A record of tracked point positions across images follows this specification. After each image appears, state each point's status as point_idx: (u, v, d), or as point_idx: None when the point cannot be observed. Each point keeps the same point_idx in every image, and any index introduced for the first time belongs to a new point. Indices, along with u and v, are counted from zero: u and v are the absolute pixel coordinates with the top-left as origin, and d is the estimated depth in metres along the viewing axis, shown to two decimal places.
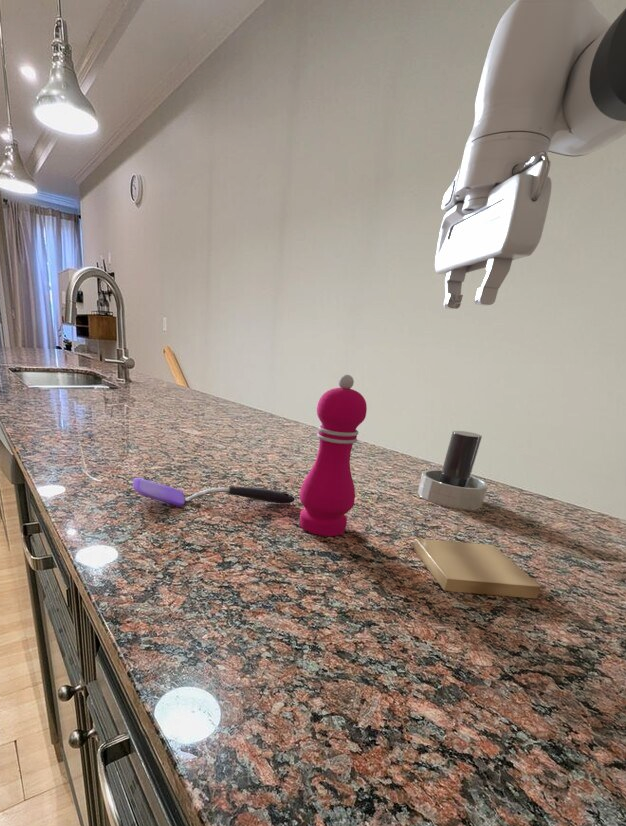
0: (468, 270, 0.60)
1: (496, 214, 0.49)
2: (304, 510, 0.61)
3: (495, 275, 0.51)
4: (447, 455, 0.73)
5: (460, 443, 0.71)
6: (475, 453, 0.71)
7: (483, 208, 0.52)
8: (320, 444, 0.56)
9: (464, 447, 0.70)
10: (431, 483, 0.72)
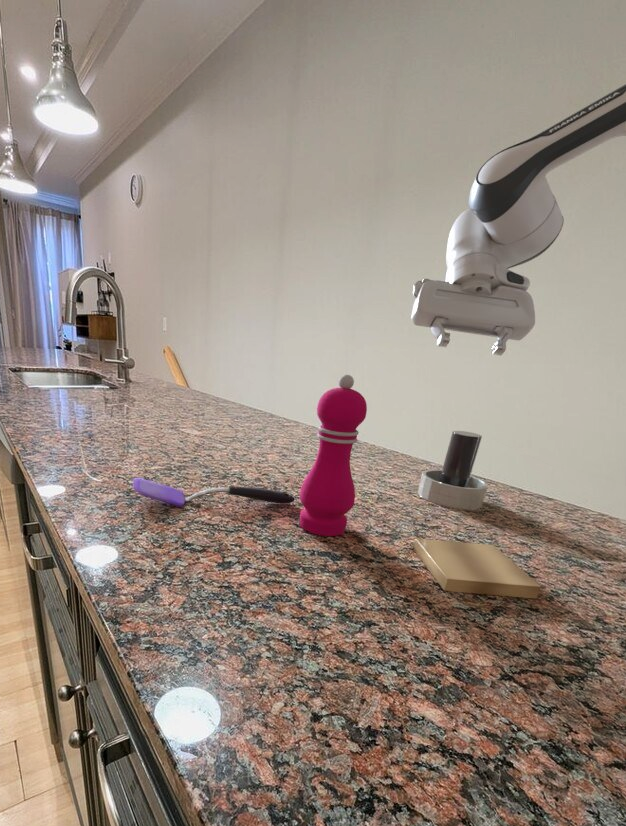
0: (502, 325, 0.76)
1: None
2: (304, 510, 0.61)
3: (434, 330, 0.78)
4: (447, 455, 0.73)
5: (460, 443, 0.71)
6: (475, 453, 0.71)
7: None
8: (320, 444, 0.56)
9: (464, 447, 0.70)
10: (431, 483, 0.72)
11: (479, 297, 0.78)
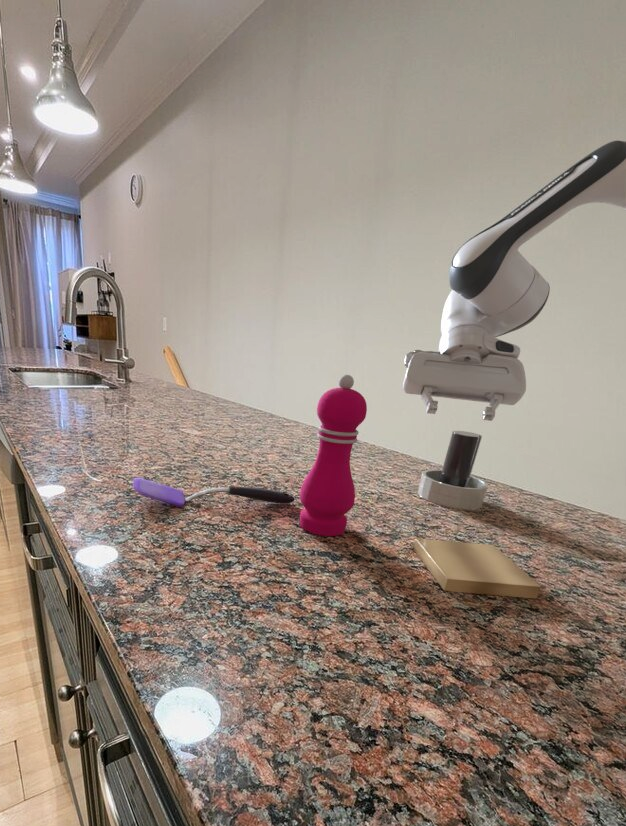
0: (492, 392, 0.78)
1: None
2: (304, 510, 0.61)
3: (423, 398, 0.81)
4: (447, 455, 0.73)
5: (460, 443, 0.71)
6: (475, 453, 0.71)
7: None
8: (320, 444, 0.56)
9: (464, 447, 0.70)
10: (431, 483, 0.72)
11: (469, 365, 0.81)
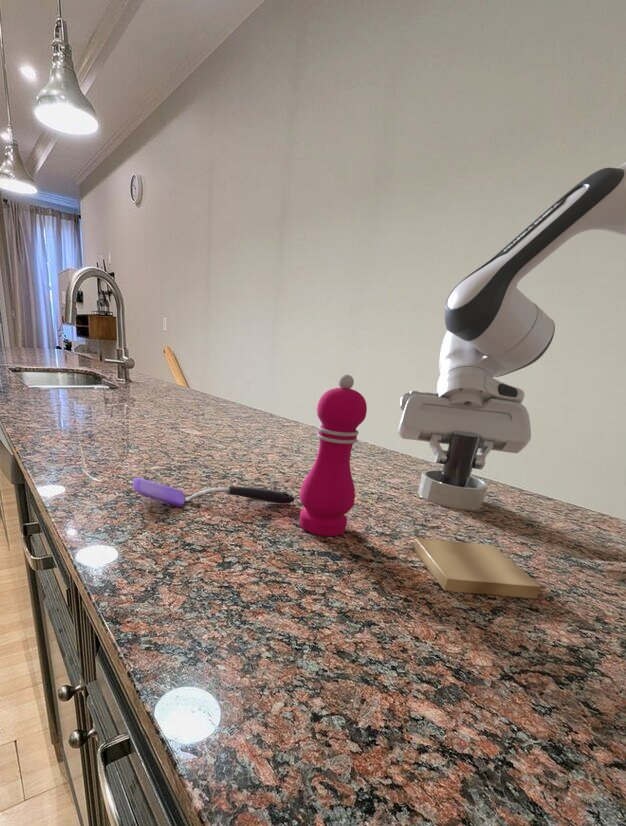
0: None
1: None
2: (304, 510, 0.61)
3: (432, 446, 0.75)
4: (447, 455, 0.73)
5: (460, 443, 0.71)
6: (475, 453, 0.71)
7: None
8: (320, 444, 0.56)
9: (464, 447, 0.70)
10: (431, 483, 0.72)
11: (469, 410, 0.75)
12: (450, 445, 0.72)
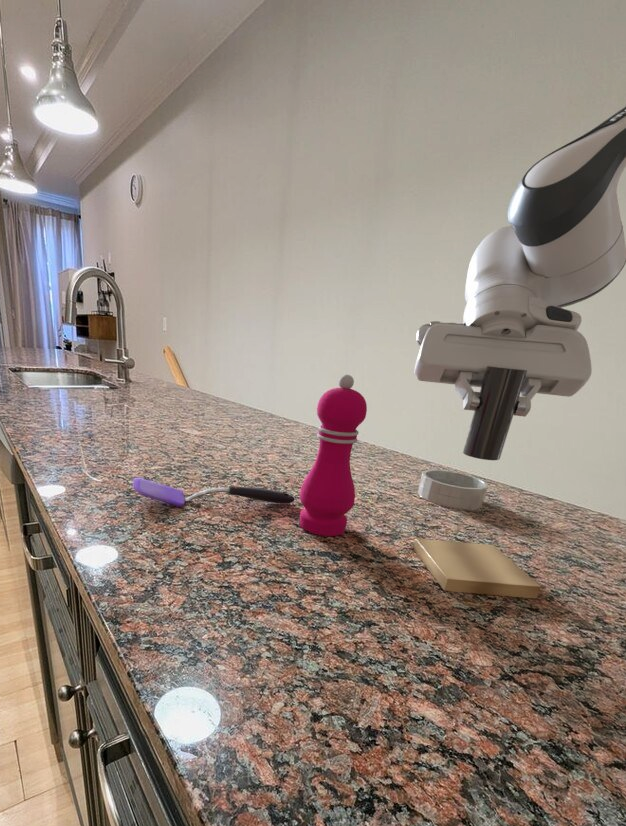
0: (542, 377, 0.55)
1: None
2: (304, 510, 0.61)
3: (459, 388, 0.58)
4: (480, 398, 0.56)
5: (498, 379, 0.53)
6: (518, 393, 0.54)
7: None
8: (320, 444, 0.56)
9: (503, 385, 0.53)
10: (431, 483, 0.72)
11: (508, 341, 0.58)
12: (484, 384, 0.55)
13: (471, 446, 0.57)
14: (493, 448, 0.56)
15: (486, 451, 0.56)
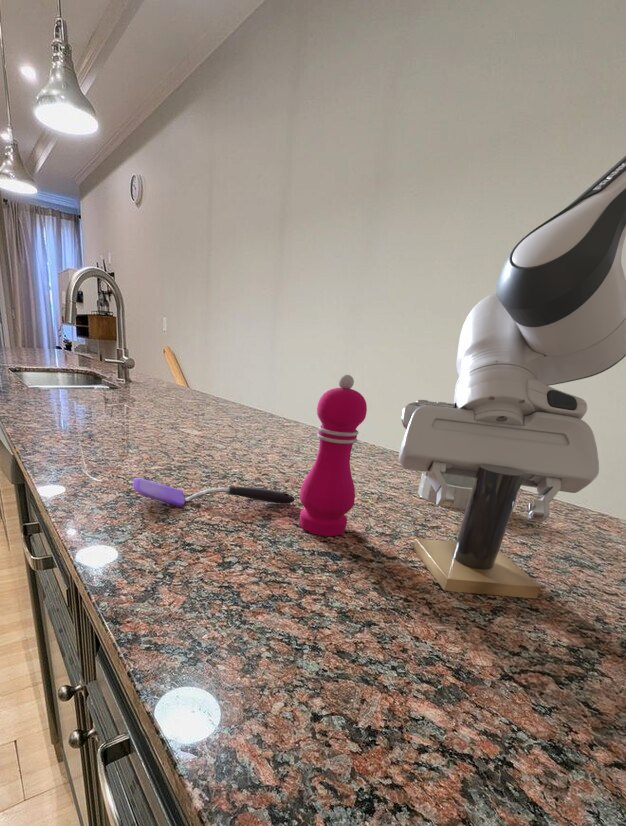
0: None
1: None
2: (304, 510, 0.61)
3: (432, 480, 0.51)
4: (471, 500, 0.49)
5: (491, 484, 0.46)
6: (514, 499, 0.47)
7: None
8: (320, 444, 0.56)
9: (497, 491, 0.46)
10: None
11: (504, 428, 0.51)
12: (476, 486, 0.48)
13: (461, 552, 0.50)
14: (486, 557, 0.49)
15: (478, 560, 0.49)
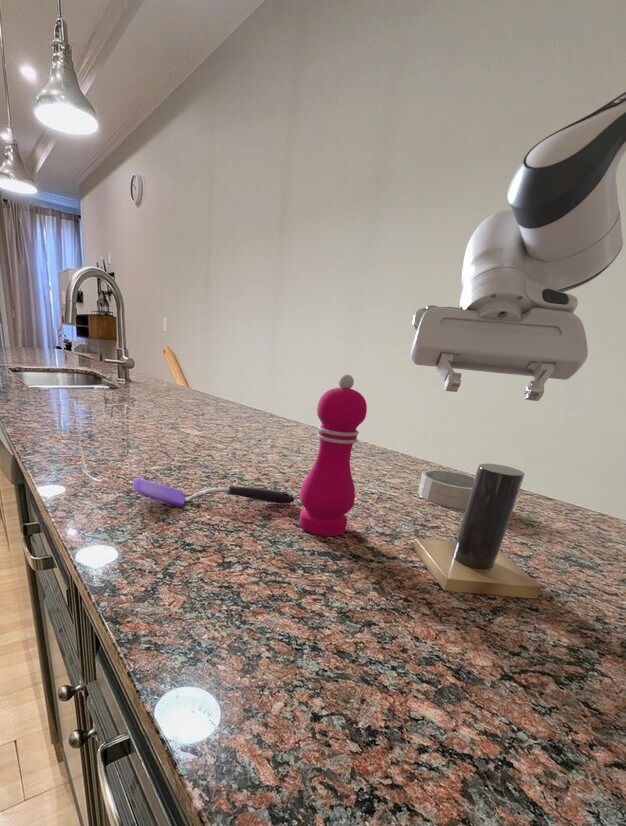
0: None
1: None
2: (304, 510, 0.61)
3: (440, 370, 0.58)
4: (471, 500, 0.49)
5: (491, 484, 0.46)
6: (514, 499, 0.47)
7: None
8: (320, 444, 0.56)
9: (497, 491, 0.46)
10: (431, 483, 0.72)
11: (504, 324, 0.57)
12: (476, 486, 0.48)
13: (461, 552, 0.50)
14: (486, 557, 0.49)
15: (478, 560, 0.49)
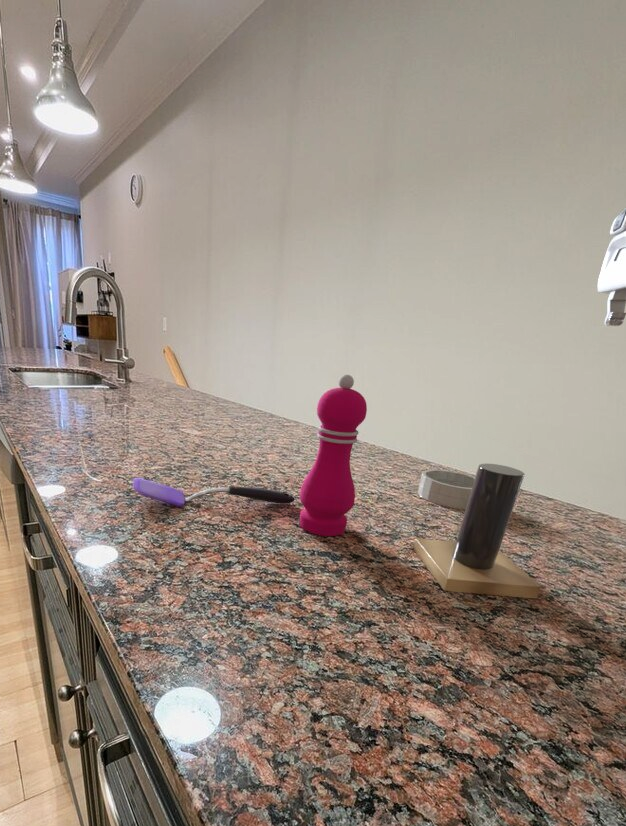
0: None
1: None
2: (304, 510, 0.61)
3: None
4: (471, 500, 0.49)
5: (491, 484, 0.46)
6: (514, 499, 0.47)
7: None
8: (320, 444, 0.56)
9: (497, 491, 0.46)
10: (431, 483, 0.72)
11: None
12: (476, 486, 0.48)
13: (461, 552, 0.50)
14: (486, 557, 0.49)
15: (478, 560, 0.49)
